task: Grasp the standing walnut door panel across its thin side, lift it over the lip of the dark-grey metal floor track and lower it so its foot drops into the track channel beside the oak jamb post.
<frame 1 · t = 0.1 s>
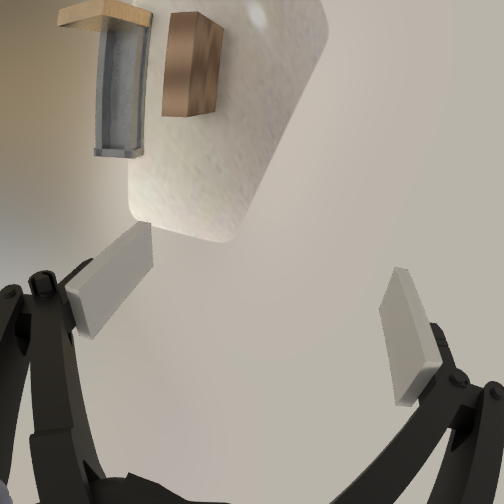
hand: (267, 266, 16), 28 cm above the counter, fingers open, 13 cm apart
door panel: (208, 69, 37), on the counter
door track: (124, 83, 39), on the counter
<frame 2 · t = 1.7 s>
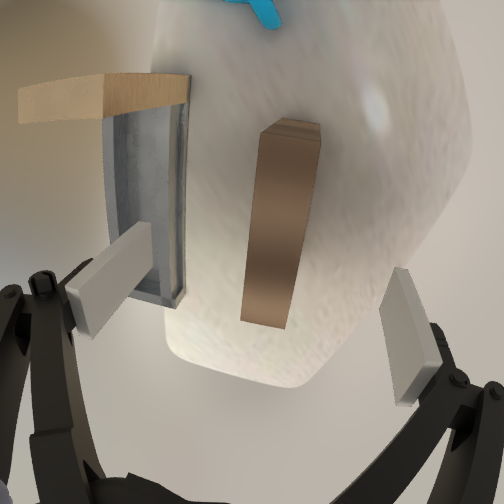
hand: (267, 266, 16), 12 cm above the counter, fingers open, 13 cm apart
door panel: (290, 191, 26), on the counter
door track: (149, 191, 29), on the counter
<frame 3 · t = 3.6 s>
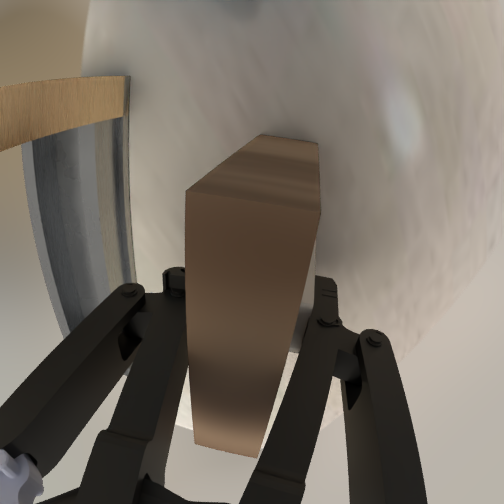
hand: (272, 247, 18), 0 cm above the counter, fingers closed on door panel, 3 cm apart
door panel: (273, 242, 18), on the counter, touching gripper
door track: (90, 236, 21), on the counter
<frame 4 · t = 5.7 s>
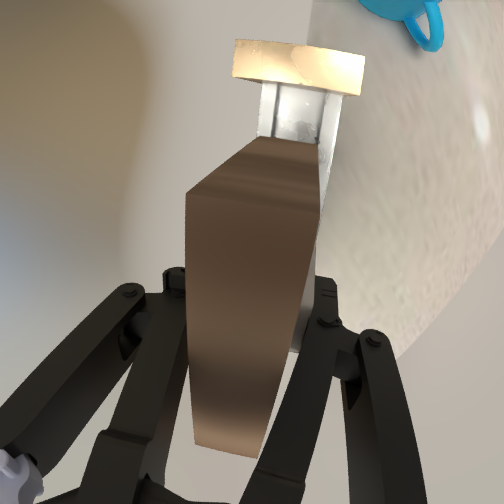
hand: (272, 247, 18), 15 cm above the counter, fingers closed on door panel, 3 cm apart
door panel: (273, 243, 18), point 14 cm above the counter, touching gripper
mug: (397, 2, 20), on the counter
door track: (290, 174, 31), on the counter
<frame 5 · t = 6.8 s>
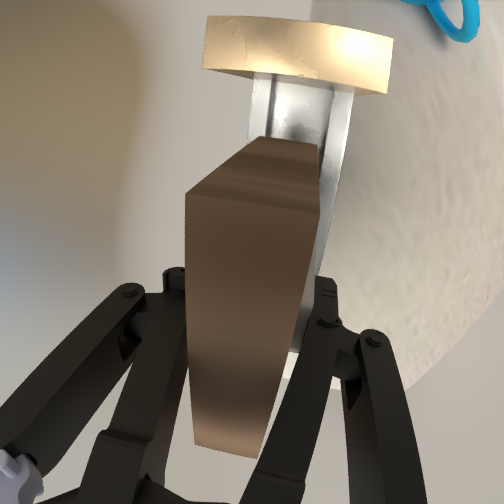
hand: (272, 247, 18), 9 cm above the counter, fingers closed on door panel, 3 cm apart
door panel: (273, 243, 18), point 8 cm above the counter, touching gripper
door track: (289, 191, 25), on the counter
when the fingers open (4 cm above the counter, at t = 7.8 s): door panel drops 3 cm, resting on door track.
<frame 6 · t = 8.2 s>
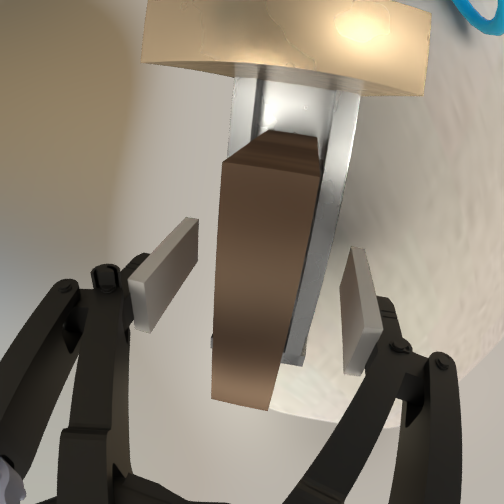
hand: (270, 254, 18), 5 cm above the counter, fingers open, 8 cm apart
door panel: (279, 223, 21), point 1 cm above the counter, touching door track
door track: (281, 214, 21), on the counter
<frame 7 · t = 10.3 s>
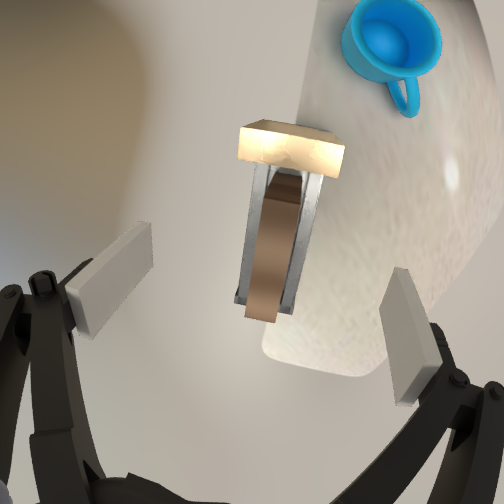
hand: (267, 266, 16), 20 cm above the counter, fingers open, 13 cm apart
door panel: (279, 224, 36), point 1 cm above the counter, touching door track
mug: (383, 64, 27), on the counter
door track: (280, 219, 37), on the counter
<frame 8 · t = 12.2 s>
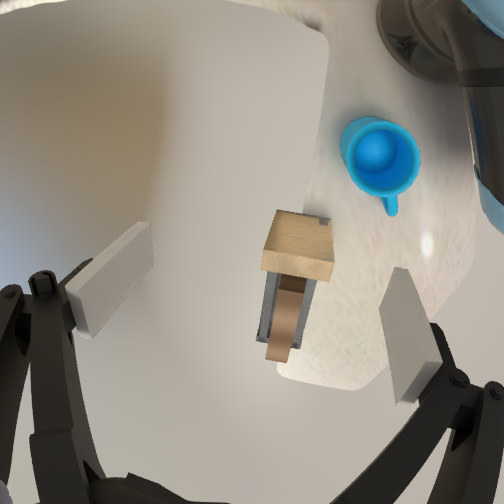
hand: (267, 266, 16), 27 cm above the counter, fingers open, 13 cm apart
door panel: (290, 286, 48), point 1 cm above the counter, touching door track
mug: (374, 161, 38), on the counter
door track: (291, 281, 48), on the counter
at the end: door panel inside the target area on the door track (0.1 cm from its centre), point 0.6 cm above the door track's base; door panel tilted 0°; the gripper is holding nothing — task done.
